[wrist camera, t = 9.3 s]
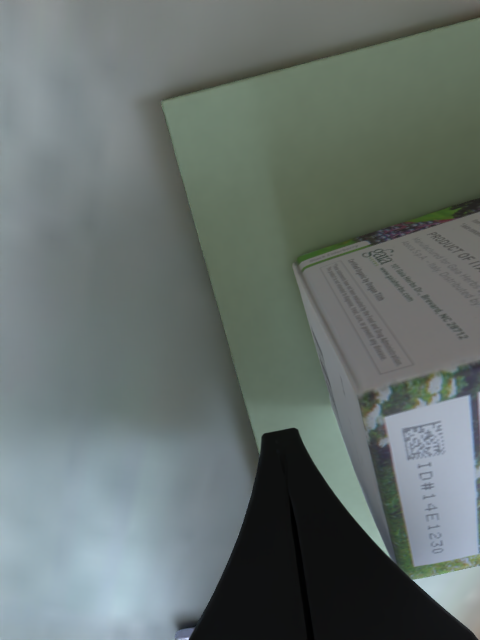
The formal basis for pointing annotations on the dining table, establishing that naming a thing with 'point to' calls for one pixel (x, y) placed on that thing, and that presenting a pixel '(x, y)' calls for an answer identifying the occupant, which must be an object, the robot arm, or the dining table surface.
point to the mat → (320, 201)
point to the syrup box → (407, 378)
